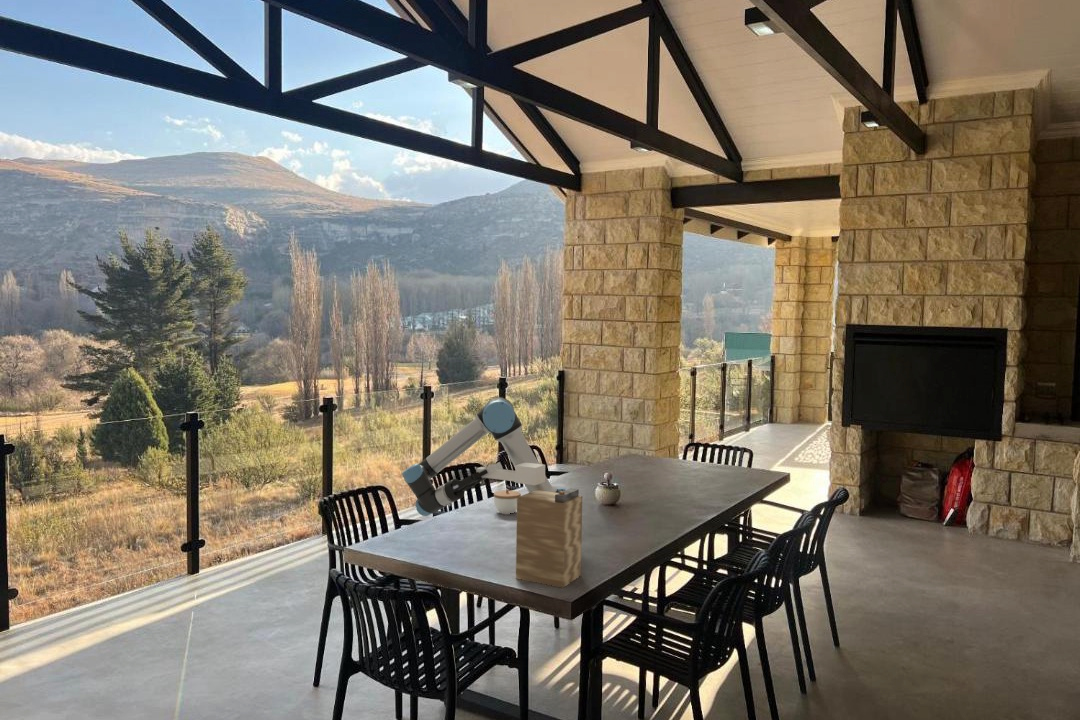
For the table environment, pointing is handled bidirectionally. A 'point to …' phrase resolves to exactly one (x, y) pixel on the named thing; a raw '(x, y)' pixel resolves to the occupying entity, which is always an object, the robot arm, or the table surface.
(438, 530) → the table surface
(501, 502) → the lidded bowl
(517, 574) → the cabinet
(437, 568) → the table surface
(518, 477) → the white long stepped block
